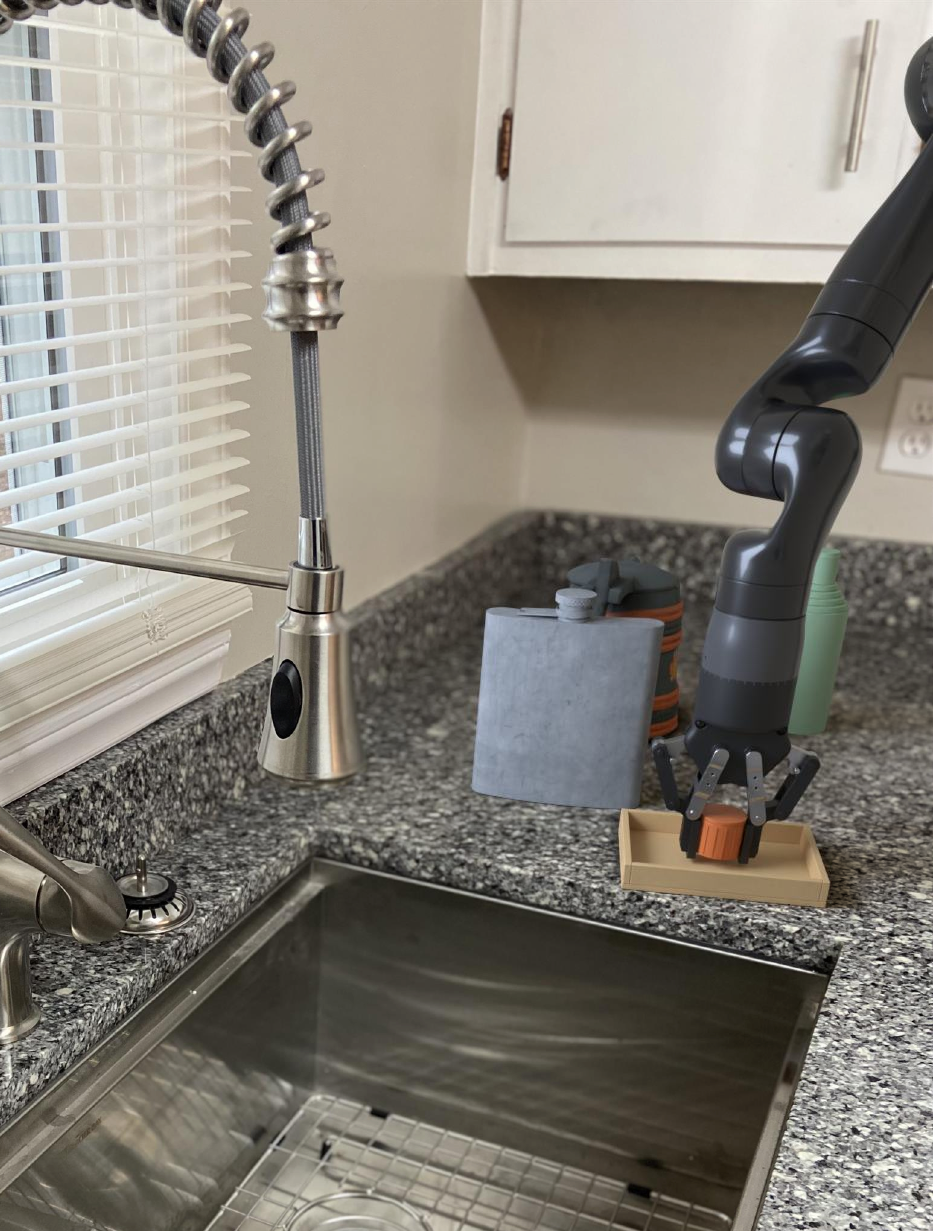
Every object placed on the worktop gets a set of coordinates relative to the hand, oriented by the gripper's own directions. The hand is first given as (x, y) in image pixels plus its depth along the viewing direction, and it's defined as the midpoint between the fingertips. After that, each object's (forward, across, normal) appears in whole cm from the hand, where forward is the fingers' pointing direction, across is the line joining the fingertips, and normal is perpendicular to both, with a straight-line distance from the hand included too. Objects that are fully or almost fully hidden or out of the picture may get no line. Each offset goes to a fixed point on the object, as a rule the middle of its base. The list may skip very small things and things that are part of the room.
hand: (716, 856), depth 121 cm
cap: (-1, 0, 0) cm, 1 cm away
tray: (+1, 0, 0) cm, 1 cm away
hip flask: (+1, -14, +13) cm, 19 cm away
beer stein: (+1, -9, +34) cm, 35 cm away
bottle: (+1, +11, +37) cm, 38 cm away
